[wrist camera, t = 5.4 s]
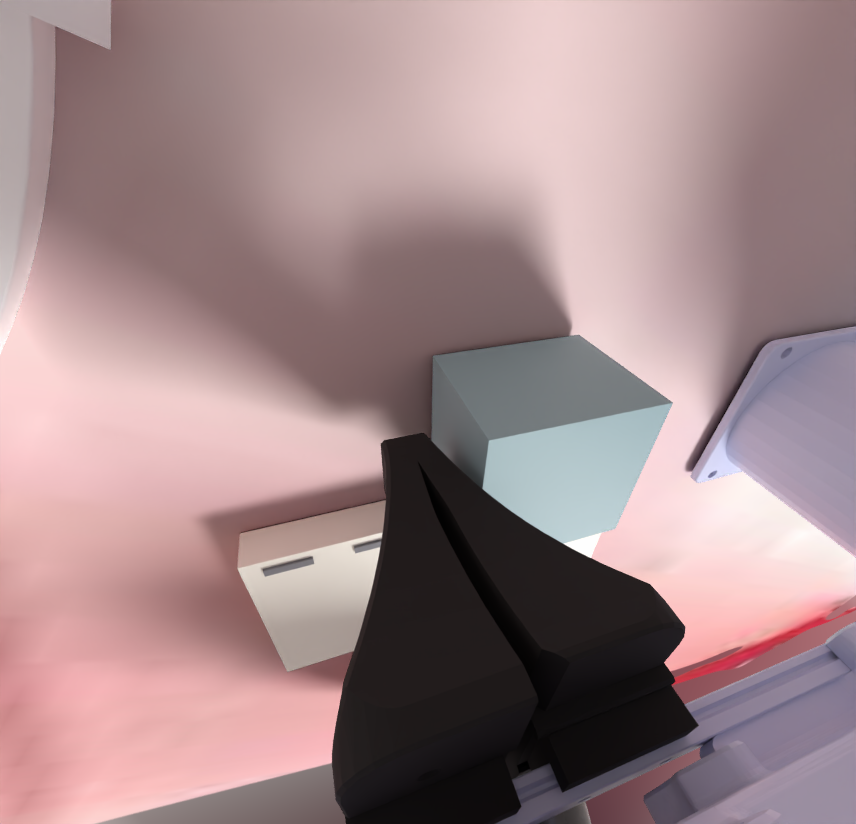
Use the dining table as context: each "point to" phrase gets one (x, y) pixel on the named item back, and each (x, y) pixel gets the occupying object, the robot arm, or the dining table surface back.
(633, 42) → the dining table surface
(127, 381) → the dining table surface
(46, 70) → the lazy susan
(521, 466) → the pale blue cube
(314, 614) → the white slotted box
